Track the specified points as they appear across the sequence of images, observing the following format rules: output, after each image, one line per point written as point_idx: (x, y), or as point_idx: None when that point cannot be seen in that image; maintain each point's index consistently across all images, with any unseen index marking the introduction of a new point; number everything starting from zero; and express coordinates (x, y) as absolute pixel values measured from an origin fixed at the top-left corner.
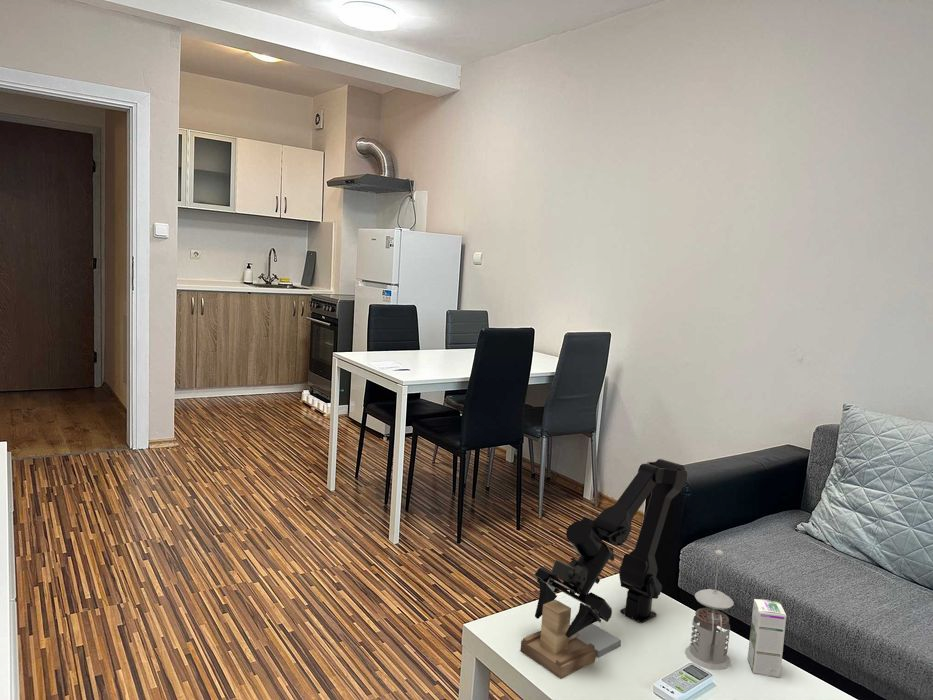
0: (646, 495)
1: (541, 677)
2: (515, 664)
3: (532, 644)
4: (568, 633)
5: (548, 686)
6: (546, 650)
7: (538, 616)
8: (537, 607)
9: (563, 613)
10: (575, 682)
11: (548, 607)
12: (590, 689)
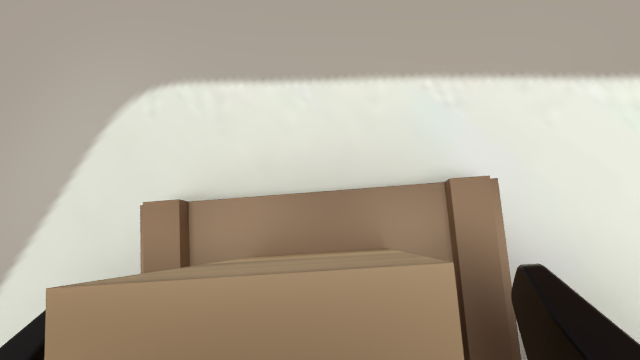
0: None
1: (233, 132)
2: (388, 86)
3: (422, 213)
4: (45, 311)
5: (163, 115)
6: (320, 247)
7: (520, 304)
8: (616, 335)
9: None
10: (110, 255)
11: (307, 278)
12: (31, 280)
